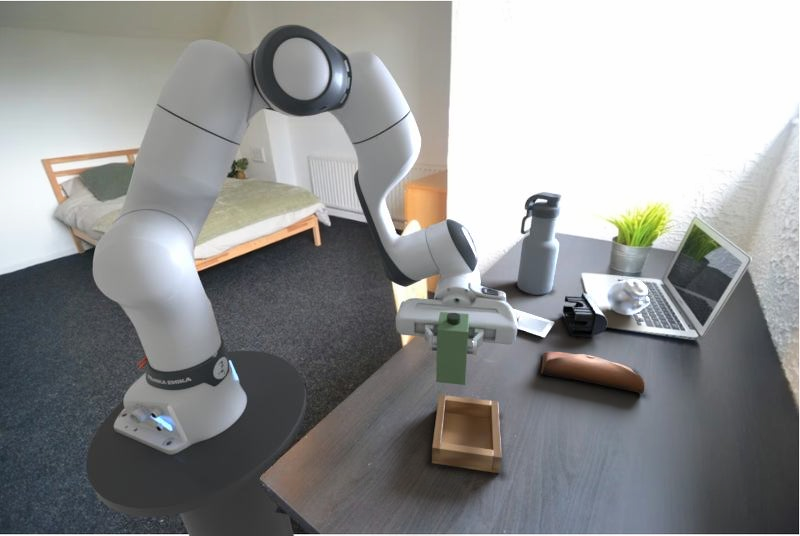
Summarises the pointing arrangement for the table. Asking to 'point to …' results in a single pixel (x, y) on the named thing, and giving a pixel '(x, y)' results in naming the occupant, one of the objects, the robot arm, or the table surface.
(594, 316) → the end cap
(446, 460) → the wooden tray
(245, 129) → the robot arm
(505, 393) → the table surface
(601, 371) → the sunglasses case
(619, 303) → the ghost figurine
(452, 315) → the green carton with cap
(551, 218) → the water bottle
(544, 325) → the white shallow tray
